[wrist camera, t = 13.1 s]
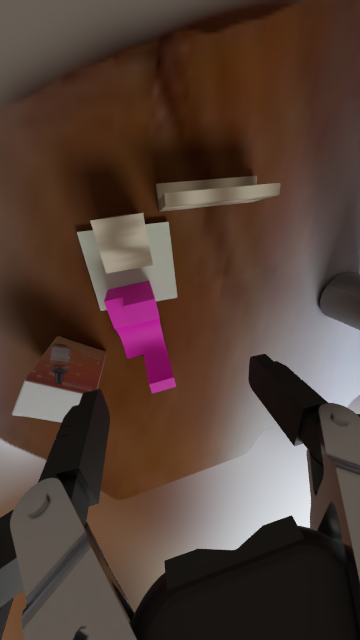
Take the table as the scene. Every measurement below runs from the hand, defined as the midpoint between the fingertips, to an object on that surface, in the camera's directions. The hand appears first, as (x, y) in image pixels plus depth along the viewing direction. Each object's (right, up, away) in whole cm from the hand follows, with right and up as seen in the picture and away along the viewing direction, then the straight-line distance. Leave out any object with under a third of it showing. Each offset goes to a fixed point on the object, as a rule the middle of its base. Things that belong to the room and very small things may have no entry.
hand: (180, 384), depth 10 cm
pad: (-7, +11, +18) cm, 23 cm away
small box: (-17, -3, +22) cm, 28 cm away
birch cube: (-7, +11, +15) cm, 19 cm away
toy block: (-7, +2, +22) cm, 23 cm away
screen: (+4, +20, +17) cm, 27 cm away
